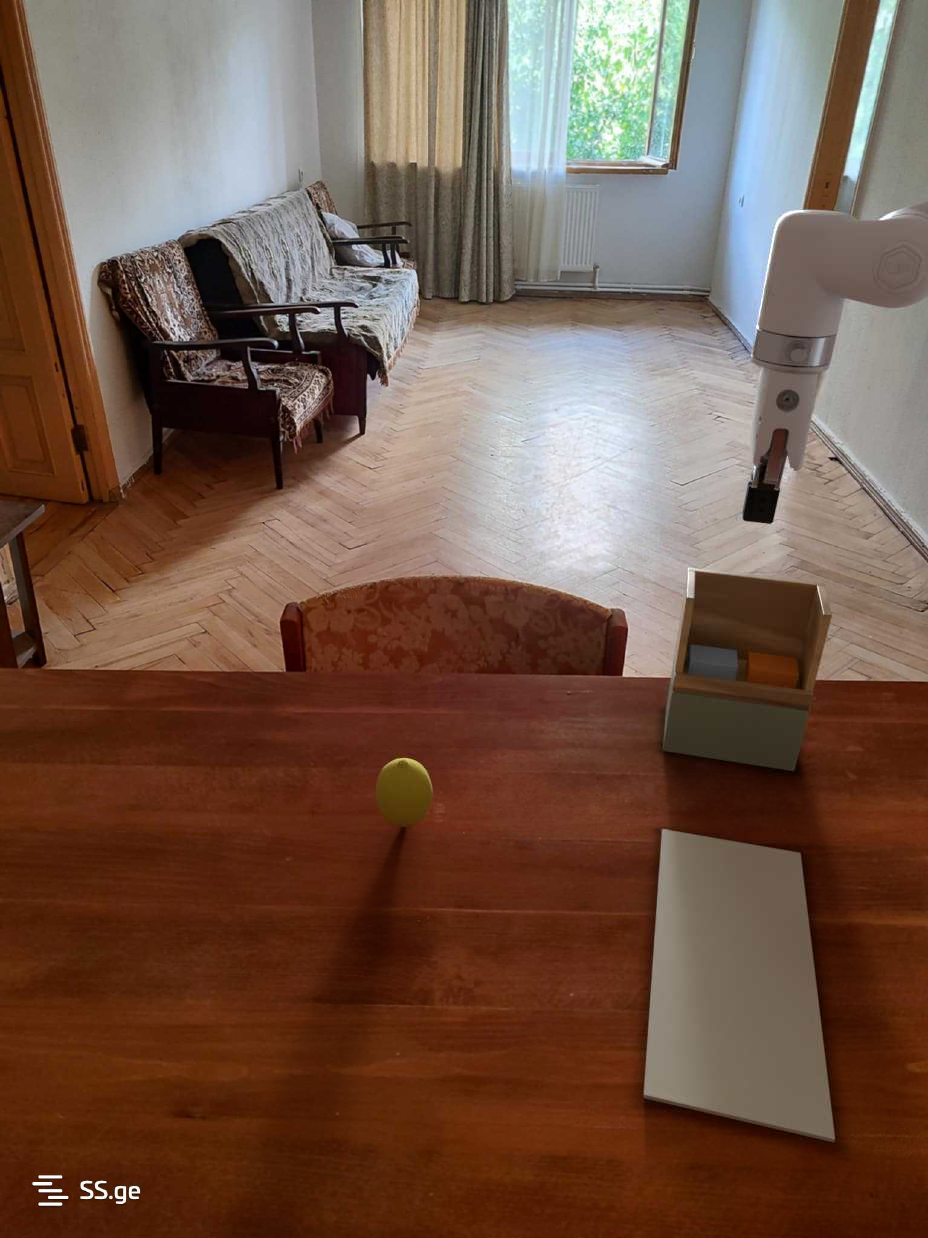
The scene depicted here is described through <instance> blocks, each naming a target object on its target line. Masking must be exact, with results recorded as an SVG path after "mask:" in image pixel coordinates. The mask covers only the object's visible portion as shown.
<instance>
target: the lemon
mask: <svg viewBox="0 0 928 1238" xmlns="http://www.w3.org/2000/svg"><path fill="white" fill-rule="evenodd" d="M432 784H433V783H432V781H431V778H430V775H429V773H428V771H427V770H426V768H425V767H424V766H423V764H421V763H420V762H419V761H417V760H414V759H412V758H409V757H408V758H407V757H401V758H395V759H392V760H391V761H390V762H388V763H387V764H386V765H384V766H383V767H382V769H381V771H380V772H379V774H378V777H377V779H376V784H375V790H374V795H375V805H376V807H377V810H378V812H379V814H380V815H381V817H382V818H383V820H385V821H386V822H387V823H389V824H390V825H392V826H395V827H398V828H409V827H413V826H415V825H417V824H419V823H420V822H421V821H423V820H424V818H425V817H426V816H427V815H428V813H429V811H430V808H431V806H432V804H433V785H432Z"/></svg>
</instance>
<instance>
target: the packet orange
mask: <svg viewBox="0 0 928 1238" xmlns="http://www.w3.org/2000/svg"><path fill="white" fill-rule="evenodd" d="M745 669H746V682H748V683H756V684H763V685H770V686H777V687H785V688H792V689H796V686H797V682H798V677H799V672H798V666H797V659H796V658H792V657H785V656H777V655H769V654H762V653H754V652H748V656H747V661H746V666H745Z"/></svg>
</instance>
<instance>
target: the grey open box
mask: <svg viewBox="0 0 928 1238" xmlns="http://www.w3.org/2000/svg"><path fill="white" fill-rule="evenodd" d="M674 658H675V654H674V656H673V659H674ZM673 672H674V660H673V662H672V668H671V673H670V674H671V676H670V682H669V687H668V694H667V701H666V707H665V718H664V732H663V744H662V751H663V752H669V753H674V754H681V755H686V756H694V757H701V758H706V759H712V760H720V761H725V762H731V763H737V764H745V765H752V766H757V767H764V768H771V769H777V770H783V771H788V772H789V771H790V772H795V771H796V766H797V762H798V758H799V755H800V750H801V747H802V743H803V739H804V736H805V730H806V727H807V723H808V720H809V715H810V711H807V710H800V709H793V708H786V707H778V706H771V705H764V704H757V703H750V702H743V701H736V700H729V699H722V698H715V697H708V696H701V695H694V694H687V693H680V692H673V691H672V687H673Z"/></svg>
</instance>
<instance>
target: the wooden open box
mask: <svg viewBox="0 0 928 1238" xmlns="http://www.w3.org/2000/svg"><path fill="white" fill-rule="evenodd" d="M686 572H687V574H686V579H685V585H684V591H683V596H682V597H683V598H682V602H681V603H682V604H681V610H680V616H679V623H678V629H677V630H678V631H677V636H676V643H675V650H674V655H675V658H674V657H673V661H674V672H673V687H672V691H673V692H680V693H687V694H694V695H701V696H708V697H715V698H722V699H729V700H736V701H743V702H750V703H757V704H764V705H771V706H778V707H786V708H793V709H800V710H807V711H809V712H810V711H811V708H812V707H811V706H812V703H813V699H814V688H815V683H816V681H817V676H818V672H819V668H820V665H821V661H822V657H823V652H824V649H825V644H826V642H827V637H828V633H829V629H830V625H831V621H832V617H833V615H832V610H831V605H830V602H829V598H828V593H827V588H826V584H825V582H821V581H813V580H812V581H811V580H802V579H795V578H784V577H777V576H767V575H760V574H752V573H751V574H750V573H742V572H733V571H724V570H716V569H715V570H714V569H707V568H698V567H687V571H686ZM691 644H692V645H700V646H707V647H715V648H722V649H730V650H737V662H738V669H737V674H736V679H735V681H734V680H727V679H719V678H712V677H705V676H698V675H690V674H687V668H688V655H689V649H690V645H691ZM748 652H754V653H762V654H769V655H777V656H785V657H792V658H796V659H797V666H798V672H799V677H798V682H797V686H796V689H792V688H785V687H777V686H770V685H763V684H756V683H748V682H746V669H745V666H746V661H747V656H748Z"/></svg>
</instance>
